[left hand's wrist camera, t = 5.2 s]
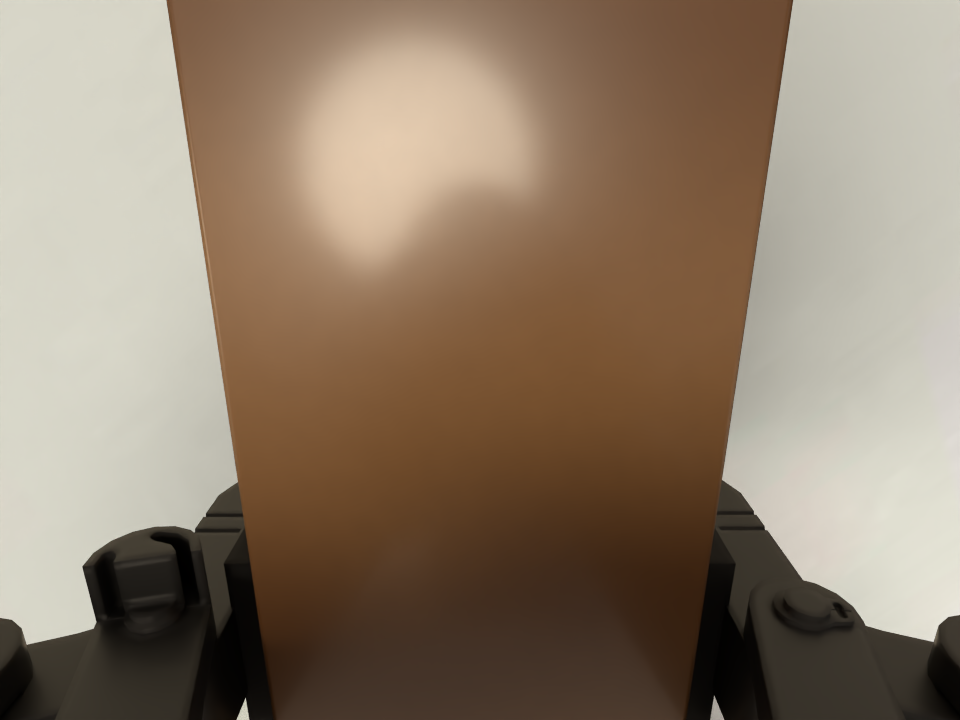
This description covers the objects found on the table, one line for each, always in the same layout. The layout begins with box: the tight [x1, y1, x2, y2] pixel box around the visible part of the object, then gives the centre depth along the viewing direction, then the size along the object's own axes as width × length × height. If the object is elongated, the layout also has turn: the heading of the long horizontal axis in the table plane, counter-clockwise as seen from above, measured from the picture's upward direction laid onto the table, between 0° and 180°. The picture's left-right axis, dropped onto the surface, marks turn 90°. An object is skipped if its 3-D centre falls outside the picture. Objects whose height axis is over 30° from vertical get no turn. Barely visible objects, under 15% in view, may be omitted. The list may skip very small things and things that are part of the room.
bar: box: [167, 0, 793, 720], centre depth 9 cm, size 23×5×8 cm, turn 0°
